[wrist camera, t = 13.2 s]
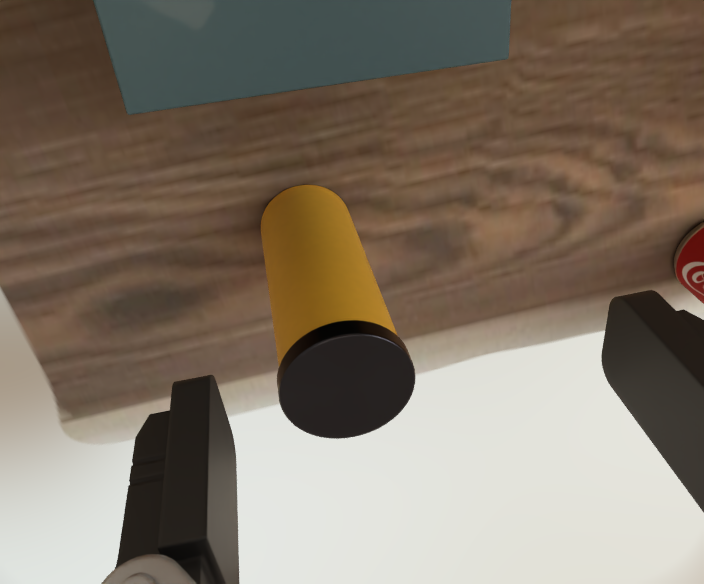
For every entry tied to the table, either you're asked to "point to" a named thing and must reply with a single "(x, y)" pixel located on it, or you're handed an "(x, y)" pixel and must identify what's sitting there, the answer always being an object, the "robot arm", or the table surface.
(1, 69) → the table surface
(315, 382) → the tin
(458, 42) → the cabinet
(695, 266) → the soda can
